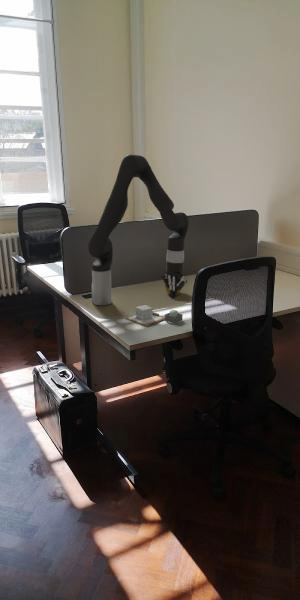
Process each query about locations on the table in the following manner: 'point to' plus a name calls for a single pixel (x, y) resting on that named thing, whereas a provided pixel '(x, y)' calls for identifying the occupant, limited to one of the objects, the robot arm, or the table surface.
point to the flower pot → (169, 289)
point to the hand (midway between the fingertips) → (173, 298)
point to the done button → (173, 313)
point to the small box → (144, 312)
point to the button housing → (173, 318)
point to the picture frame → (147, 322)
